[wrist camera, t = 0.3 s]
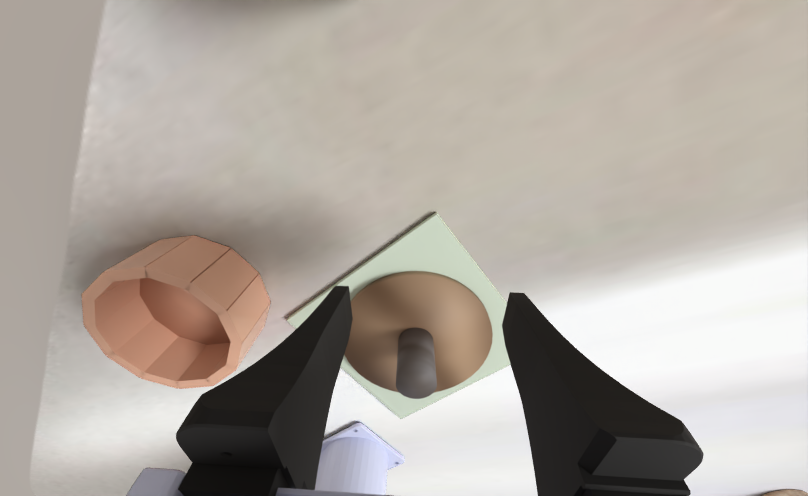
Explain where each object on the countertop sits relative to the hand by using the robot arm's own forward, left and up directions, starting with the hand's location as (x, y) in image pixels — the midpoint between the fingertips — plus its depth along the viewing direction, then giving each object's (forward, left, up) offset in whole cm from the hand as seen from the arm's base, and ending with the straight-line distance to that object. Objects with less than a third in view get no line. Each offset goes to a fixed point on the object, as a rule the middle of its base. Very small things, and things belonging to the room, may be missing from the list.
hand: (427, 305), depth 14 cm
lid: (-7, -8, -10) cm, 14 cm away
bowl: (-19, +6, -10) cm, 22 cm away
